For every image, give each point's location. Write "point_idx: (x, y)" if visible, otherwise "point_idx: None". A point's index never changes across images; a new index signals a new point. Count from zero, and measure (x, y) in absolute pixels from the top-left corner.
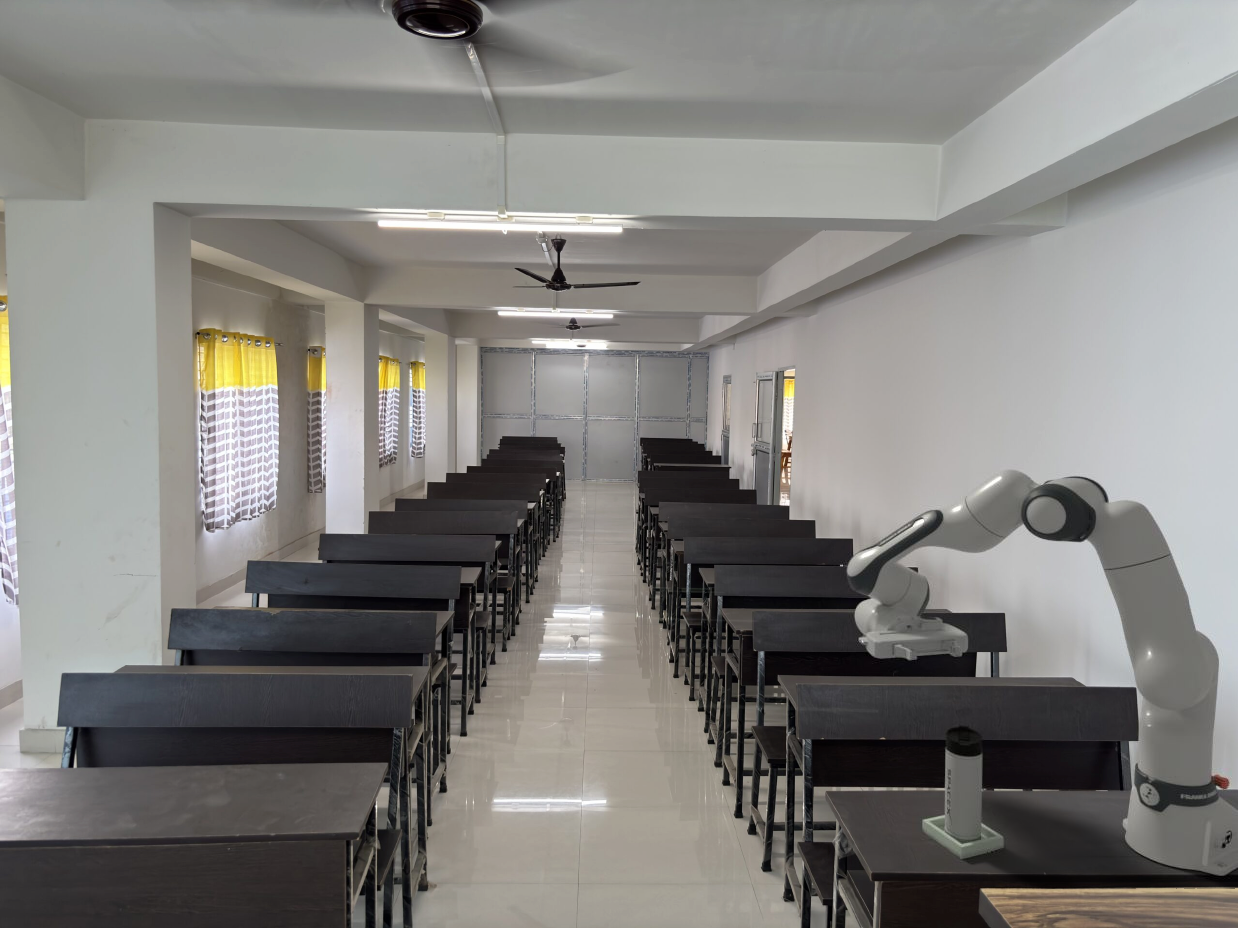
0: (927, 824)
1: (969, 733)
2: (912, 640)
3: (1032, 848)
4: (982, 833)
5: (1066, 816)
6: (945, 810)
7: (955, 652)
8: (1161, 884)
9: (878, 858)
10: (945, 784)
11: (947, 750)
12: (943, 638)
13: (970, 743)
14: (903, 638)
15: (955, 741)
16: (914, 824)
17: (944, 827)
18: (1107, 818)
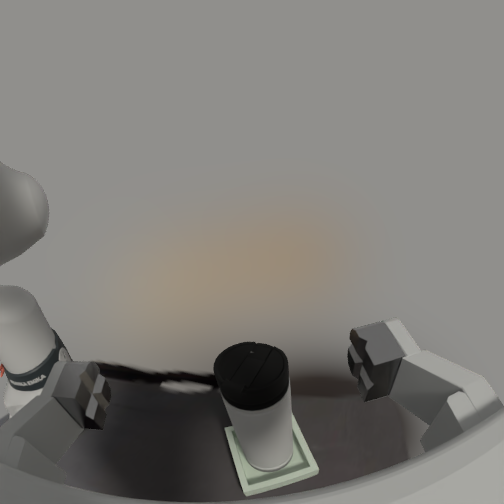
0: (314, 460)
1: (230, 378)
2: (351, 482)
3: (192, 431)
4: (239, 455)
5: (102, 478)
6: (292, 439)
7: (98, 375)
8: (126, 368)
9: (388, 408)
10: (291, 422)
11: (289, 380)
12: (27, 473)
13: (253, 342)
14: (448, 479)
15: (278, 349)
16: None
17: (284, 474)
18: (69, 460)
